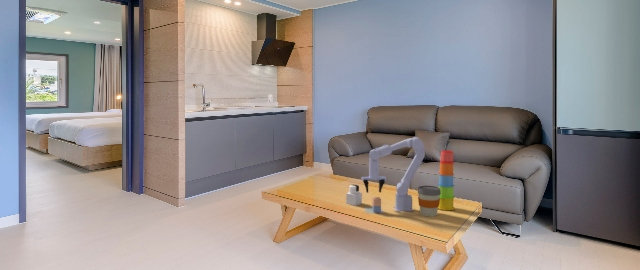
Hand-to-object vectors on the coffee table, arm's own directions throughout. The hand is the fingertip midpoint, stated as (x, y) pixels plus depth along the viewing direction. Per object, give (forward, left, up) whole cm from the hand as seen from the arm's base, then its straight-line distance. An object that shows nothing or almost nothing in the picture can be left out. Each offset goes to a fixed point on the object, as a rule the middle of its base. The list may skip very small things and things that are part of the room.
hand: (373, 192), depth 218 cm
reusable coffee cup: (-29, +13, -10) cm, 33 cm away
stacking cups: (-43, +4, -10) cm, 44 cm away
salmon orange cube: (0, +8, -6) cm, 10 cm away
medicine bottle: (+10, -10, -10) cm, 17 cm away
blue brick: (0, +8, -10) cm, 12 cm away
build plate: (+1, +5, -10) cm, 11 cm away
